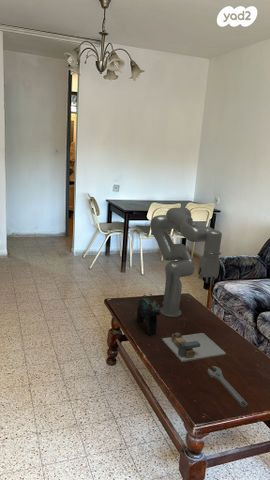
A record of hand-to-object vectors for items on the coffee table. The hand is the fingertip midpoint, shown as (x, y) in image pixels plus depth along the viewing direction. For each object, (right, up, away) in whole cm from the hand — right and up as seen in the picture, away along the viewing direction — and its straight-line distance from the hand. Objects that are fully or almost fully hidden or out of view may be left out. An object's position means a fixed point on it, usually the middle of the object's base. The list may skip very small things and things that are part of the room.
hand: (206, 289), depth 185 cm
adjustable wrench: (+1, -36, -36) cm, 51 cm away
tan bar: (-14, -26, -11) cm, 32 cm away
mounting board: (-8, -27, -8) cm, 30 cm away
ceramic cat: (-31, -22, +7) cm, 38 cm away
